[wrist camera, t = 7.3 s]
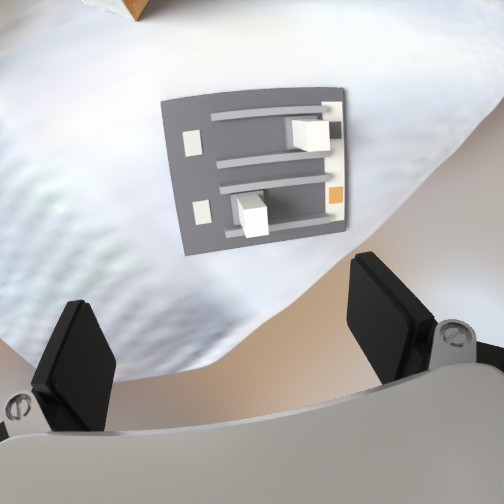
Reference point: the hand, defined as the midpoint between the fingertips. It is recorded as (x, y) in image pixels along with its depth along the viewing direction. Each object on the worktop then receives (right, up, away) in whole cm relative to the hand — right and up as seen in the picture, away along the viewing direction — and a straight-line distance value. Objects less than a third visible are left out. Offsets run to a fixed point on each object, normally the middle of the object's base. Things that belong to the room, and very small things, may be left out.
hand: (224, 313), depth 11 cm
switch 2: (+6, +14, +19) cm, 24 cm away
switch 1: (0, +7, +21) cm, 22 cm away
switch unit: (+2, +11, +21) cm, 24 cm away
